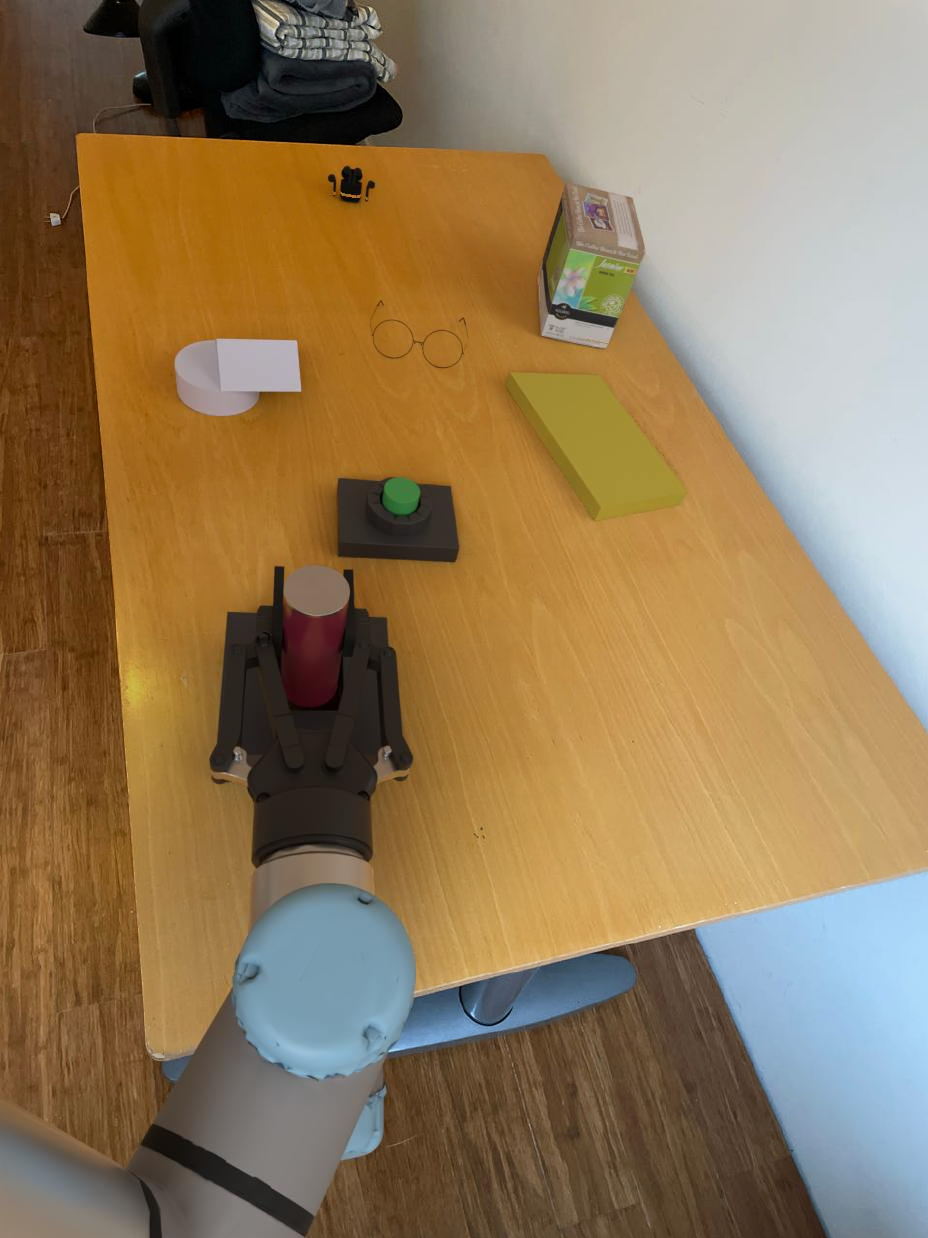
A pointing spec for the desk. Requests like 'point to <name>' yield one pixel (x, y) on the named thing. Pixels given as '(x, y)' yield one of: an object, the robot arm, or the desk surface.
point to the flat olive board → (596, 444)
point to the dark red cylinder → (313, 633)
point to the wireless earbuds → (351, 184)
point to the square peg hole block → (256, 716)
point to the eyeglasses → (417, 341)
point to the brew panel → (395, 523)
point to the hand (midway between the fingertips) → (313, 579)
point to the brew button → (401, 496)
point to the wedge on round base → (235, 373)
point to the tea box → (588, 265)
